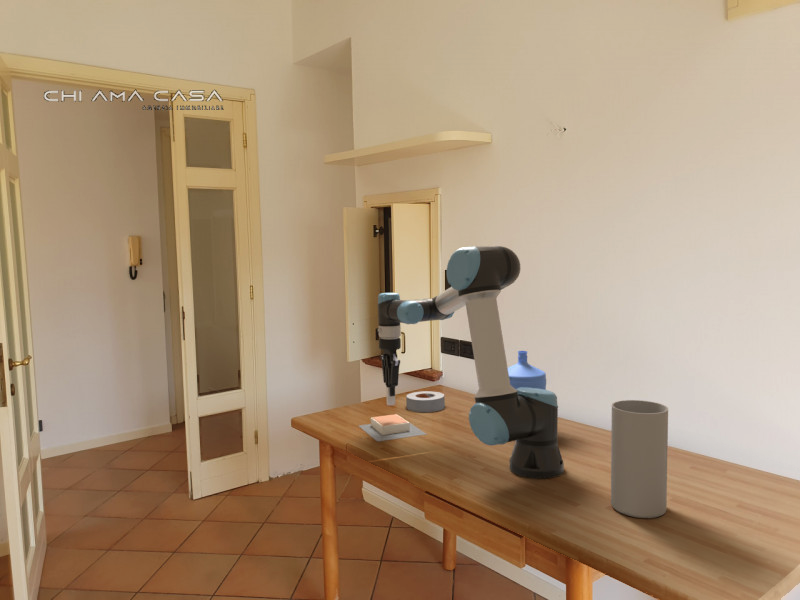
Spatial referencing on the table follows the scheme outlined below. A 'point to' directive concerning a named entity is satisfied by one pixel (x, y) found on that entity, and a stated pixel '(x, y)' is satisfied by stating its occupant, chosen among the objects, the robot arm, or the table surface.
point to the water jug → (526, 374)
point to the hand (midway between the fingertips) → (391, 404)
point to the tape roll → (425, 401)
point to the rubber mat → (379, 437)
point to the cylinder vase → (639, 458)
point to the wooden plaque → (390, 424)
